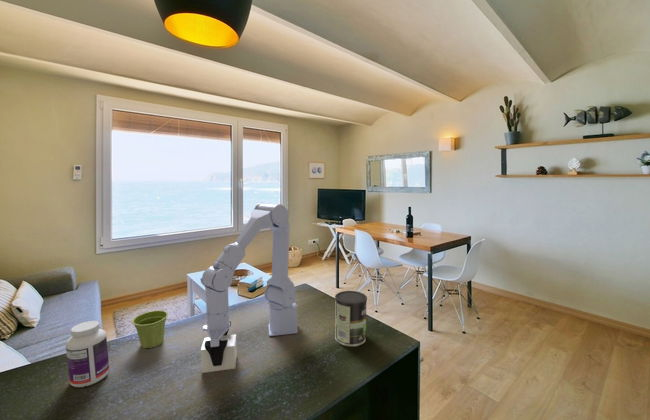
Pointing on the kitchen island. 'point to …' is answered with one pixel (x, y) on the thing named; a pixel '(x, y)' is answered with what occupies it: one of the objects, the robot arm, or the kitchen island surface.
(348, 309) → the coffee can
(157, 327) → the plant pot
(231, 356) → the white rectangular prism
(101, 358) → the pill bottle
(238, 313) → the kitchen island surface
